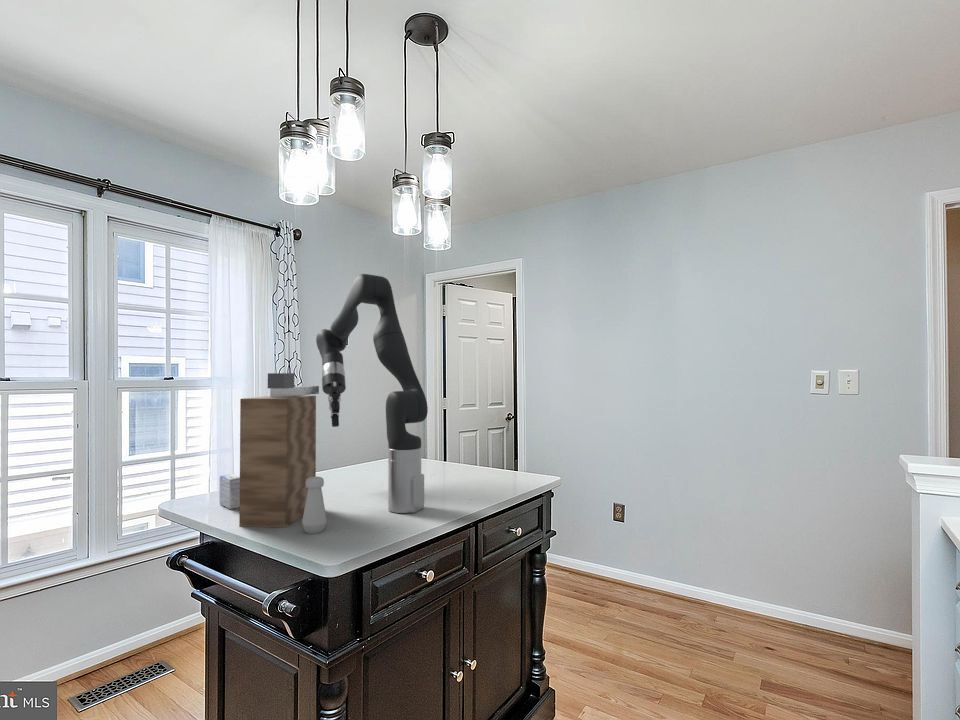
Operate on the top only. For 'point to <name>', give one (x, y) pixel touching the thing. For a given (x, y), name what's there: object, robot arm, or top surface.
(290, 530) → the top surface
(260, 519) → the stand
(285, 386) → the gray stepped bar
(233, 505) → the medicine box
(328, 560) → the top surface
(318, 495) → the salt shaker
